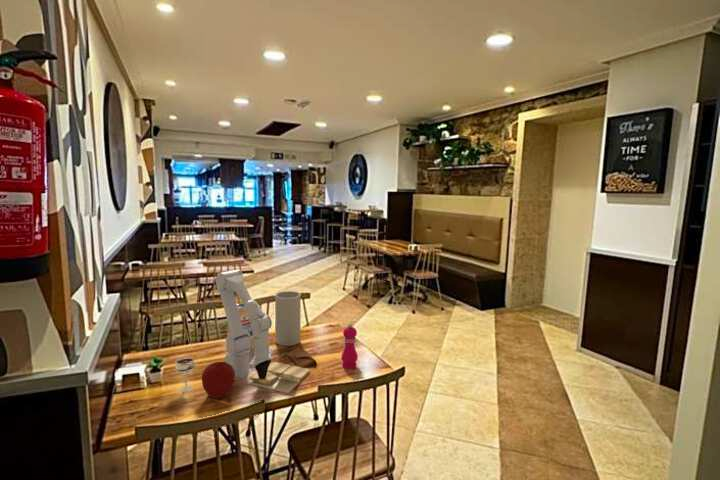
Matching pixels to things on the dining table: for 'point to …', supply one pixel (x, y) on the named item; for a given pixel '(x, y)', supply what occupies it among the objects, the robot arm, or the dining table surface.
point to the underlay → (278, 384)
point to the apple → (218, 379)
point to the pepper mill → (349, 348)
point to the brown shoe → (301, 358)
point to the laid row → (288, 369)
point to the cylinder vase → (288, 318)
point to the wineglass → (185, 370)
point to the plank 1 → (266, 380)
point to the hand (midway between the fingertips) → (262, 377)
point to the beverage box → (245, 321)
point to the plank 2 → (286, 376)
